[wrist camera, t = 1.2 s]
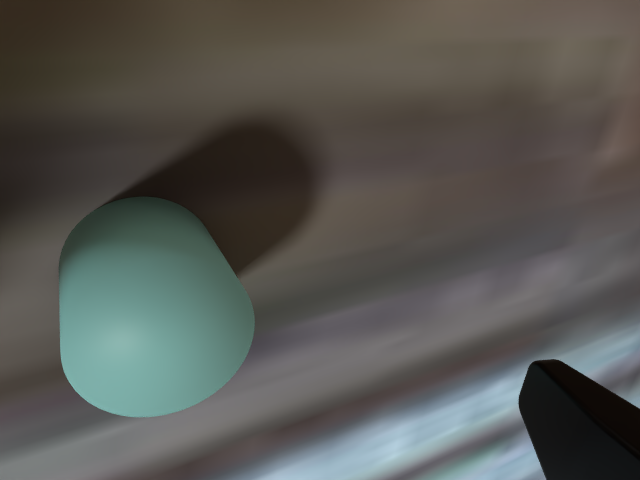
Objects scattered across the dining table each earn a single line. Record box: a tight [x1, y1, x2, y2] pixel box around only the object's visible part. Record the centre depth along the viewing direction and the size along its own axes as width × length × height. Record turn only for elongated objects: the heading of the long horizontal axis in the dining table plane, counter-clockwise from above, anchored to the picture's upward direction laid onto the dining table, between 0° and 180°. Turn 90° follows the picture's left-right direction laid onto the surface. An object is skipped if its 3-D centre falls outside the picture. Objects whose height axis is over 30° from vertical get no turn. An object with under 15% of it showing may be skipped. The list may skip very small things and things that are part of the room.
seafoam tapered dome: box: [59, 197, 255, 417], centre depth 17 cm, size 6×6×5 cm
